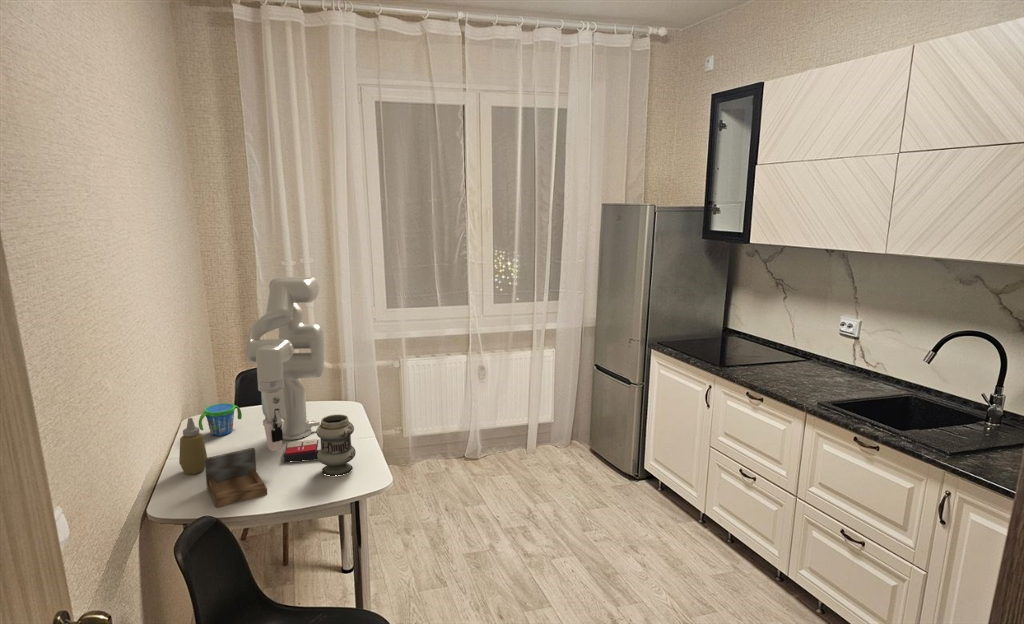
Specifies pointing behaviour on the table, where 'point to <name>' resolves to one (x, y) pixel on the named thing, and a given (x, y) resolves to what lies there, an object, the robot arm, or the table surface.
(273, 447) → the smoothie
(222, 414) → the snack cup
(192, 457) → the squeeze bottle
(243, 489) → the display stand
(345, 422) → the apothecary jar
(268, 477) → the table surface
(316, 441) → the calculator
